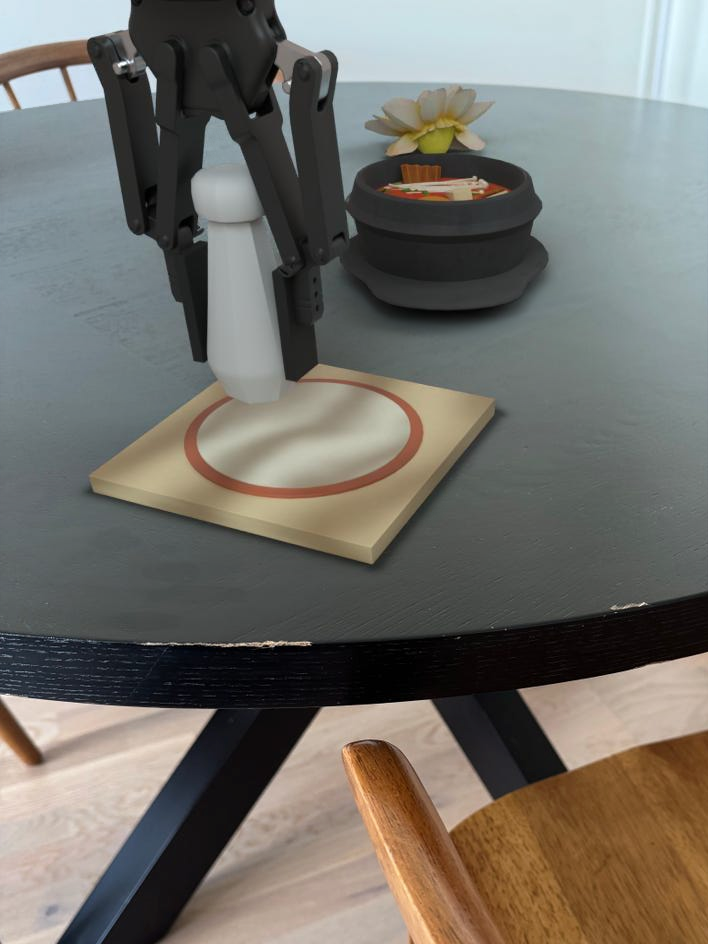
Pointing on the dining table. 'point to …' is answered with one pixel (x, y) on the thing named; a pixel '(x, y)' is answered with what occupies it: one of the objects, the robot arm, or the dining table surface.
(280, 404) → the board
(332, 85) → the robot arm
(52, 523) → the dining table surface
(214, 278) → the salt shaker
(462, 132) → the decorative flower
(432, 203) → the casserole
